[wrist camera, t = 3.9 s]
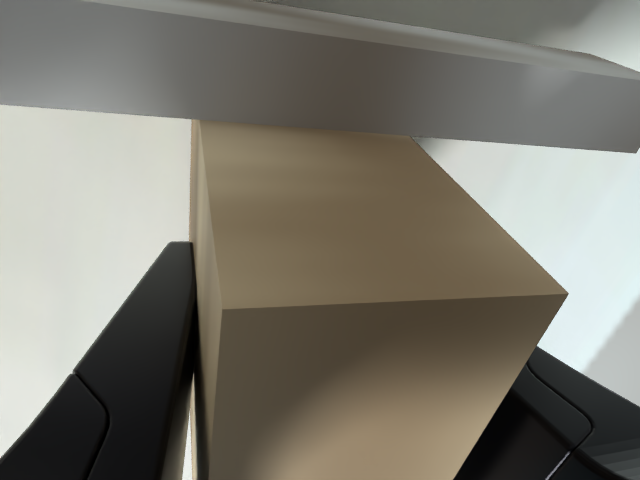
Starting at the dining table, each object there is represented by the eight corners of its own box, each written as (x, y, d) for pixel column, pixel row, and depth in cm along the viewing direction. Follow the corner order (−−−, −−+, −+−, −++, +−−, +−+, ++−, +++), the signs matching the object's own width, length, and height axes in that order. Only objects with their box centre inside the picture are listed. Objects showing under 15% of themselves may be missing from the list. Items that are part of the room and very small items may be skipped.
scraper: (-35, 332, 10) (-227, 731, 5) (-175, -75, 6) (-1659, 27, 1) (455, 306, 13) (606, 524, 9) (572, 47, 9) (965, 190, 5)
